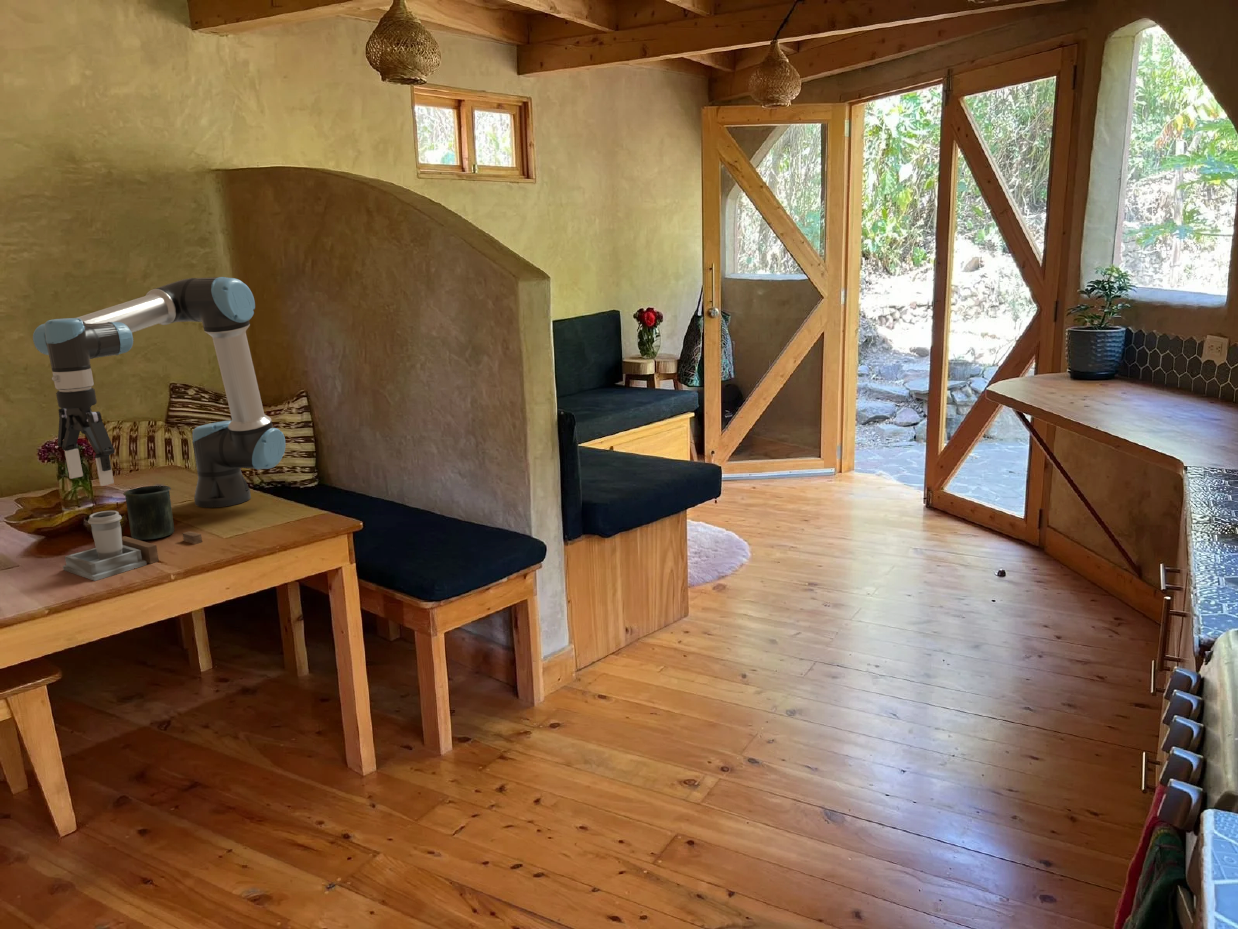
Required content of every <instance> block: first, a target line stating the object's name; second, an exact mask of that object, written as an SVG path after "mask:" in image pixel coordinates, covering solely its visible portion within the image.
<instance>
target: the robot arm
mask: <svg viewBox="0 0 1238 929" xmlns="http://www.w3.org/2000/svg"><path fill="white" fill-rule="evenodd" d="M255 309H256V302H255V298H254V294H253V292H252V291H251V288H249V286H248V285H247V284H246V283H244V282H243V281H242V280H240V279H238V278H234V277H225V276H218V277H217V276H216V277H215V276H214V277H191V278H184V279H181V280H177V281H174V282H171V283H166V284H165V285H161V286H159V287H155V288H153V289H151V290H149V291H147V292H146V294H145V296H141V297H138V298H134V299H132V300H131V299H130V300H128V301H125V302H122V303H119V304H115V305H112V306H109V307H106V308H103V309H99V310H96V311H93V312H91V313H87V314H84V315H81V316H77V317H70V318H69V317H68V318H67V317H66V318H55V319H50V320H49V319H48V320H47V321H45V323H42V324H40V325H38V326H37V327H36V328H35V330H34V332H33V334H32V340H33V344H34V347H35V349H36V350H37V351H39V353H41V354H43V355H46V356H48V357H49V363H50V366H51V367H50V368H51V373H52V377H51V380H52V381H53V383H54V388H55V389H56V390H57V391H56V392H55V396H56V401H57V406H58V409H57V410H58V417H59V419H58V420H59V422H58V431H57V432H58V433H57V435H58V436H57V446H58V447H59V448H62V450H63V451H64V456H65V459H66V460H65V462H66V466H67V471H68V477H69V479H77V478H81V477H83V476H84V473H83V468H82V464H81V463H82V462H81V457H80V450H79V445H78V444H77V443H78V439H79V436H80V432H81V434H83V435H85V437H86V438H87V440H88V442H89V444H90V446H91V447H92V449H93V451H94V452H95V455H94V459H95V464H96V465H95V466H96V469H97V475H98V481H99V486H100V487H103V486H107V485H108V486H109V485H111V484H112V485H113V484H114V483H115V481H114V474H113V470H112V469H113V467H112V464H111V459H110V458H111V457H110V456H111V455H112V454H115V452H116V451H115V448H114V445H113V444H112V442H111V441H112V440H111V438H110V436H109V435H108V431H107V429H106V427H105V424H104V422H103V419H102V414H101V412H100V411H92V406H96V404H97V403H98V402H97V395H96V390H95V388H93V386H94V385H95V384H94V383H95V382H94V377H93V372H92V366H91V359H92V360H93V359H97V358H104V357H112V356H119V355H121V354H125V353H128V352H129V351H130V350H131V349H132V348H133V345H134V337H133V333H135V332H138V331H141V330H144V329H147V328H150V327H153V326H155V325H158V324H159V325H162V326H166V325H170V324H173V323H181V322H195V323H197V322H198V323H201V324H202V327H203V332H204V333H206V334H207V335H209V336H210V337H211V338H212V342H213V347H214V349H215V350H214V351H215V355H216V359H217V363H218V366H219V371H220V374H221V379H222V384H223V387H224V390H225V396H226V401H227V403H228V409H229V413H230V417H231V420H222V421H216V422H211V423H205V424H203V425H199V426H196V427H195V428H194V429H193V430H192V446H193V452H194V459H195V467H196V472H197V483H196V487H195V492H194V496H193V497H194V505H195V506H196V507H200V508H208V509H209V508H210V509H211V508H223V507H230V506H234V505H239V504H242V503H244V502H247V501H250V500H251V498H252V496H251V495H252V494H251V489H250V487H249V485H248V483H247V481H246V480H245V478H244V475H243V474H242V469H251V470H253V469H254V470H258V471H259V470H269V469H273V468H275V467H276V466H277V465H279V464H280V462H281V461H282V459H283V456H284V454H285V451H286V438H285V435H284V432H283V431H281V430H280V429H279V428H276V427H274V425H273V422H272V418H271V417H270V416H269V415H267V414H265V412H264V407H263V403H262V399H261V398H262V397H261V393H260V390H259V384H258V380H257V376H256V371H255V367H254V363H253V359H252V353H251V350H250V345H249V342H248V336H247V330H248V328H250V326H251V323H250V320H251V319H252V317H253V316H254V314H255V312H254V310H255Z"/></svg>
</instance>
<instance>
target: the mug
mask: <svg viewBox="0 0 1238 929" xmlns="http://www.w3.org/2000/svg"><path fill="white" fill-rule="evenodd" d="M171 489H172V488H171V486H168V485H148V486H140V487H136V488H132V489H131V488H130V489H127V490H125V491H124V492H123V493H122V495H123V496H125V501H126V502H125V504H126V509H127V510H126V511H127V515H128V516H127V517H128V523H129V530H130V536H131V538H133V539H137V540H140V541H143V540H155V539H160V538H161V539H162V538H164V537H167V536H170V535H173V534H174V532H175V524H174V514H173V509H172V501H171V495H170V491H171Z"/></svg>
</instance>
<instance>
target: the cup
mask: <svg viewBox="0 0 1238 929" xmlns="http://www.w3.org/2000/svg"><path fill="white" fill-rule="evenodd" d="M122 518H123V517H122V515H121V514H120V513H119V511H117V510H104V511H103V510H102V511H98V512H94V513H92V514H90V515H89V518H88V520H87V523H88V524H90V526H91V529H90V530H91V533H92V538H93V540H94V546H95V548H96V550H97V552H98V556H99V560H100V561H101V560H104V559H107V558H111V557H114V556H118V555H121V554H123V553H122V548H123V546H122V537H123V535H122V526H121V520H122Z"/></svg>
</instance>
